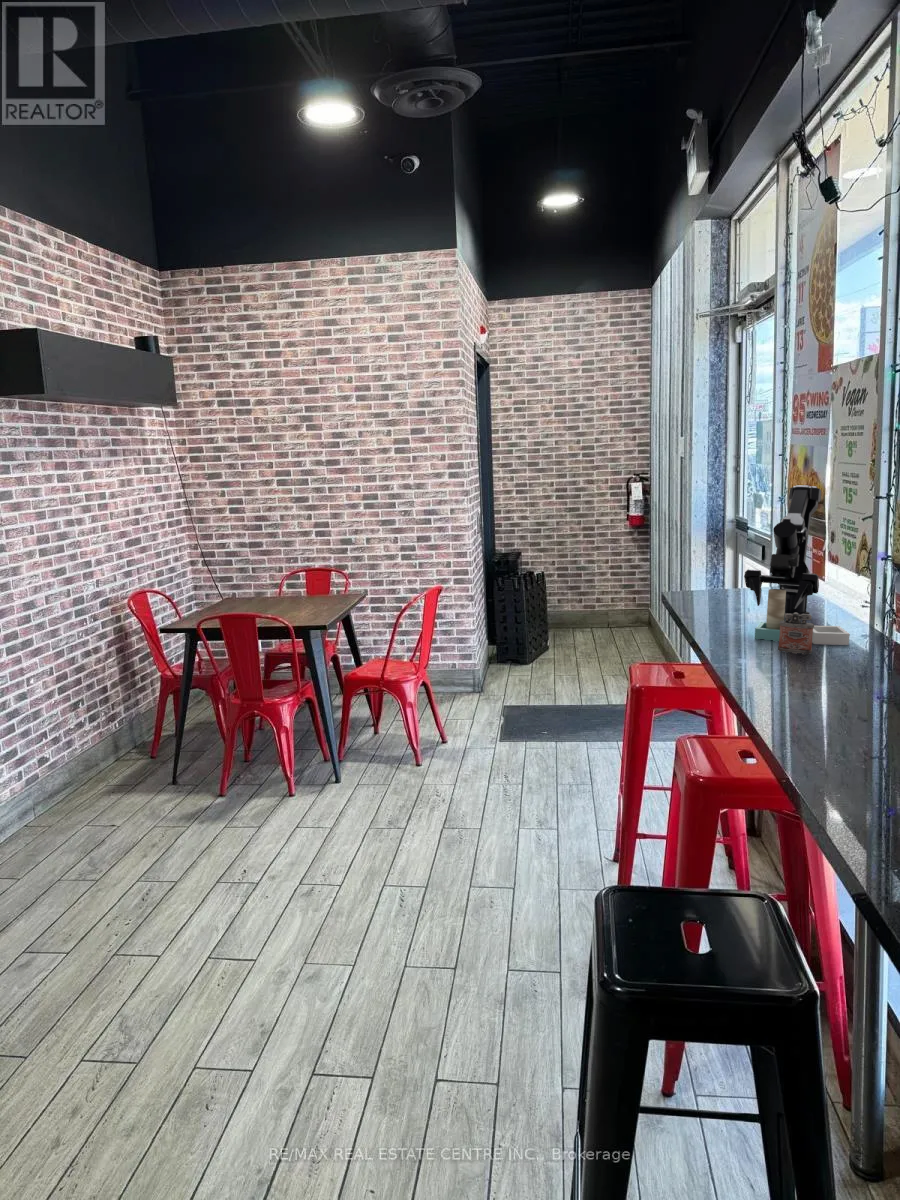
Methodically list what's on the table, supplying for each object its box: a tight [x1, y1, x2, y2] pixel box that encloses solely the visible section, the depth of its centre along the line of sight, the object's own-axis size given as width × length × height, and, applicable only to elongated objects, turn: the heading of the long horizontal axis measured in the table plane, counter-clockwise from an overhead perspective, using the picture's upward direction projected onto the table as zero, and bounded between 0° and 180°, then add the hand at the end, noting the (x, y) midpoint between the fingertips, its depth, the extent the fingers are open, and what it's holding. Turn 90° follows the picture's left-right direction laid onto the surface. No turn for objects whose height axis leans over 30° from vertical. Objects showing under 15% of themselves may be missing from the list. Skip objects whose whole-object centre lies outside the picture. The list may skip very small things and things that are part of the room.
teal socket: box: [754, 621, 780, 642], centre depth 224 cm, size 9×9×3 cm
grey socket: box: [812, 625, 851, 646], centre depth 220 cm, size 9×9×3 cm
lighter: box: [777, 612, 815, 655], centre depth 209 cm, size 8×3×10 cm, turn 62°
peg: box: [766, 588, 786, 630], centre depth 223 cm, size 4×4×13 cm
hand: (776, 606), depth 223 cm, fingers open, 9 cm apart
